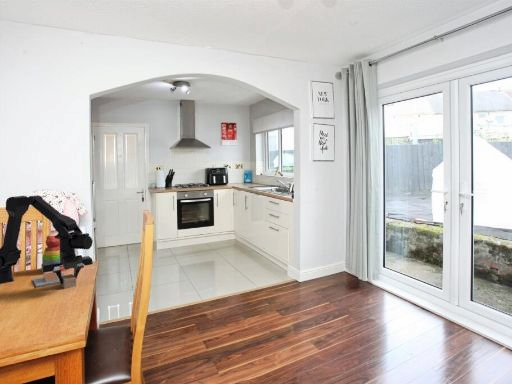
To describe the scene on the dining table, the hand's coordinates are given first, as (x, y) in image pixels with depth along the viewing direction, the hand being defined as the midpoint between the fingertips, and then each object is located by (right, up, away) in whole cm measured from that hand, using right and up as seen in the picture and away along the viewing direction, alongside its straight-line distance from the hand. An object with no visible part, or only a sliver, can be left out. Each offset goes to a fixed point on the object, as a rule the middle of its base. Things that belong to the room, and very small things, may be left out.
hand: (68, 282), depth 139 cm
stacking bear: (-19, 0, +20) cm, 28 cm away
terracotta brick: (-11, 0, +5) cm, 13 cm away
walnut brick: (0, -1, 0) cm, 1 cm away
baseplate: (-11, -1, +5) cm, 13 cm away
